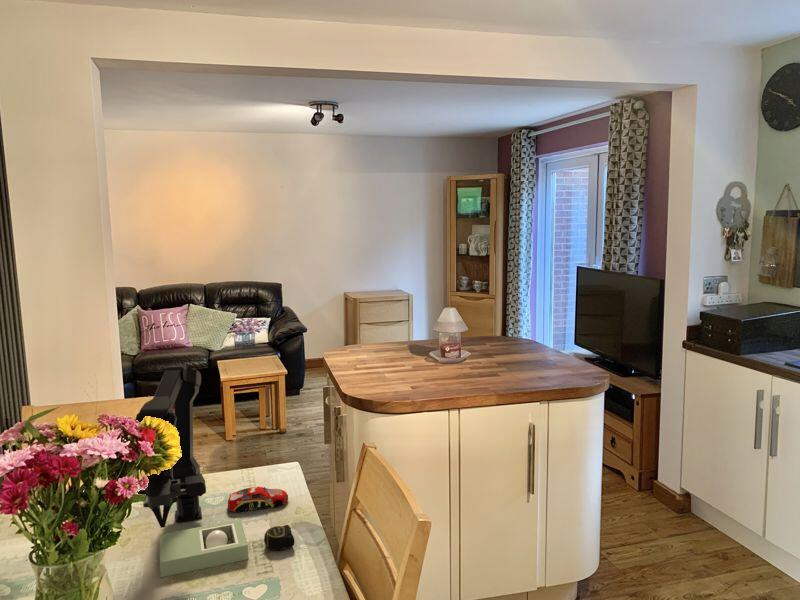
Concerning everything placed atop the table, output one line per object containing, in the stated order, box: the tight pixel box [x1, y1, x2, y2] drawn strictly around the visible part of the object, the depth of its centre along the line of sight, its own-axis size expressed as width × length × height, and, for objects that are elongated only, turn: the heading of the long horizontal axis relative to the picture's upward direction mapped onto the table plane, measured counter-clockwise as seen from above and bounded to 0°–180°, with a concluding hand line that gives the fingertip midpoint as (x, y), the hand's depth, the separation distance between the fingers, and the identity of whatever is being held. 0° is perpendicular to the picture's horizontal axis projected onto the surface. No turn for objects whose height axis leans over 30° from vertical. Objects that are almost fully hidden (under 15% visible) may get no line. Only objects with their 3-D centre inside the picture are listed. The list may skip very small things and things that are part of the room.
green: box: [159, 519, 249, 578], centre depth 142 cm, size 13×19×4 cm
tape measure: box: [263, 524, 296, 551], centre depth 146 cm, size 7×7×4 cm
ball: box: [205, 530, 229, 549], centre depth 143 cm, size 5×5×5 cm
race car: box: [227, 486, 289, 513], centre depth 166 cm, size 16×7×5 cm, turn 105°
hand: (162, 526), depth 138 cm, fingers closed
